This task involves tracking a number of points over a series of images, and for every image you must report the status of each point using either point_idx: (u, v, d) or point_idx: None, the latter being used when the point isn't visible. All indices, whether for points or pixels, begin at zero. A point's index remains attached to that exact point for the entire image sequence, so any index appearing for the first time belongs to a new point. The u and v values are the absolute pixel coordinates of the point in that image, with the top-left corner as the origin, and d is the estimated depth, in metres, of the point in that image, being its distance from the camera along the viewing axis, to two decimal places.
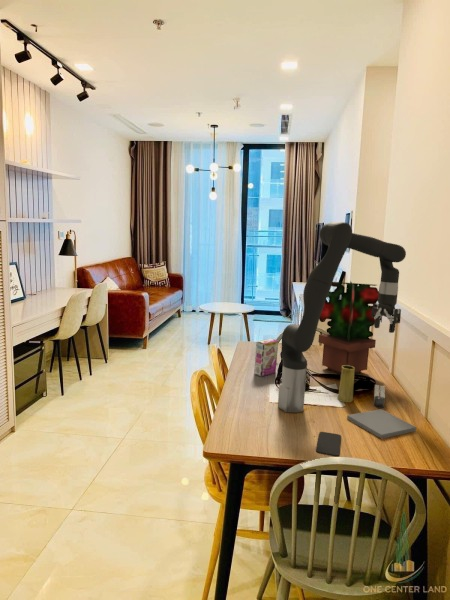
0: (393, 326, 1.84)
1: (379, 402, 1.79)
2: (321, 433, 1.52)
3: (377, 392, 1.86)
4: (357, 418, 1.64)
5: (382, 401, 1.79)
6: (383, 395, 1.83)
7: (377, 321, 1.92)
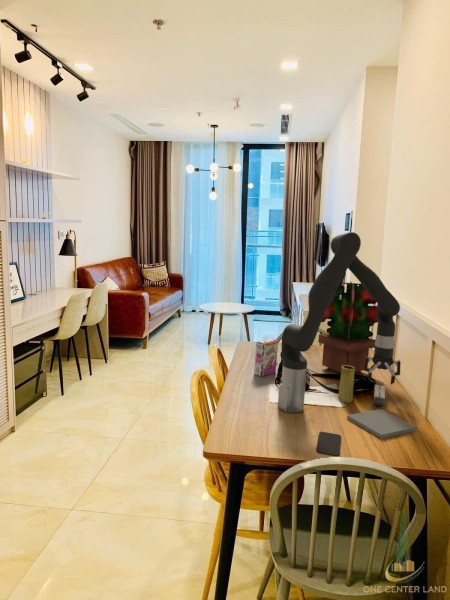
0: (368, 374, 1.88)
1: (379, 402, 1.79)
2: (321, 433, 1.52)
3: (377, 392, 1.86)
4: (357, 418, 1.64)
5: (382, 401, 1.79)
6: (383, 395, 1.83)
7: (391, 376, 1.85)
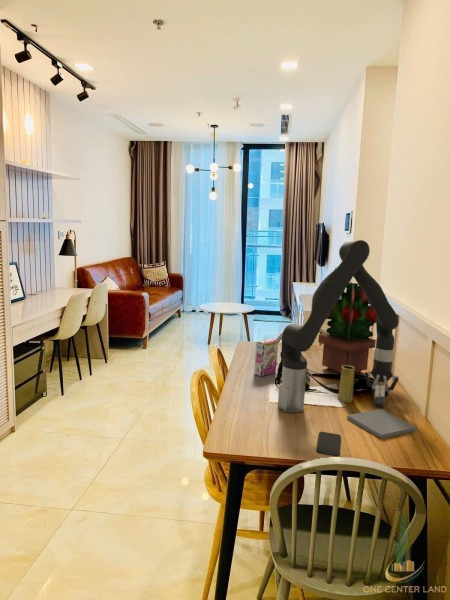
0: None
1: (379, 402, 1.79)
2: (321, 433, 1.52)
3: (377, 392, 1.86)
4: (357, 418, 1.64)
5: (382, 401, 1.79)
6: (383, 395, 1.83)
7: None
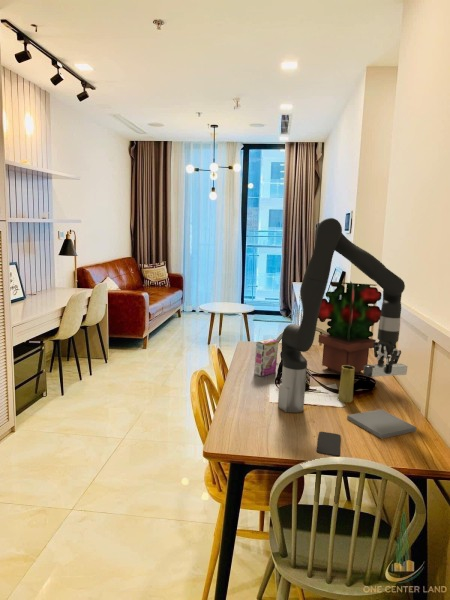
0: None
1: (364, 369, 1.68)
2: (321, 433, 1.52)
3: (381, 364, 1.71)
4: (357, 418, 1.64)
5: (367, 369, 1.67)
6: (379, 367, 1.68)
7: None
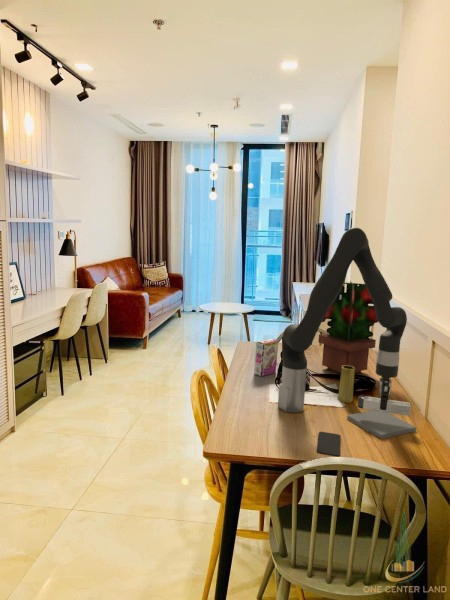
0: None
1: None
2: (320, 433, 1.52)
3: None
4: (357, 418, 1.64)
5: (359, 400, 1.63)
6: (373, 400, 1.61)
7: None
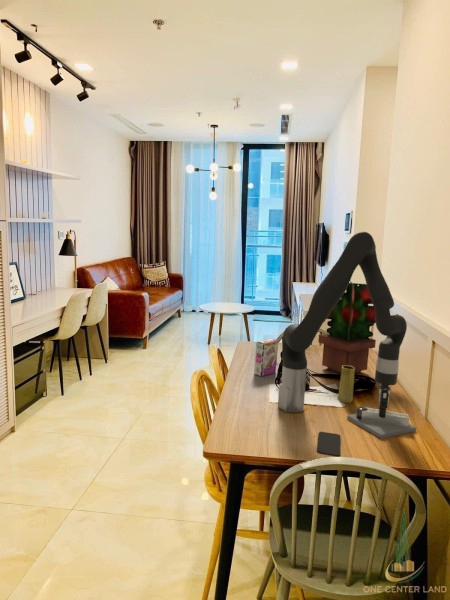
0: None
1: (356, 411, 1.65)
2: (320, 433, 1.52)
3: None
4: (357, 418, 1.64)
5: (357, 411, 1.64)
6: (371, 411, 1.62)
7: None
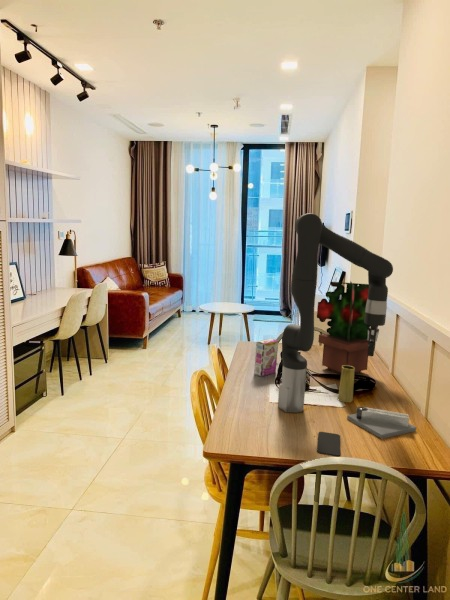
0: None
1: (356, 411, 1.65)
2: (320, 433, 1.52)
3: (379, 410, 1.63)
4: (357, 418, 1.64)
5: (357, 411, 1.64)
6: (371, 411, 1.62)
7: None
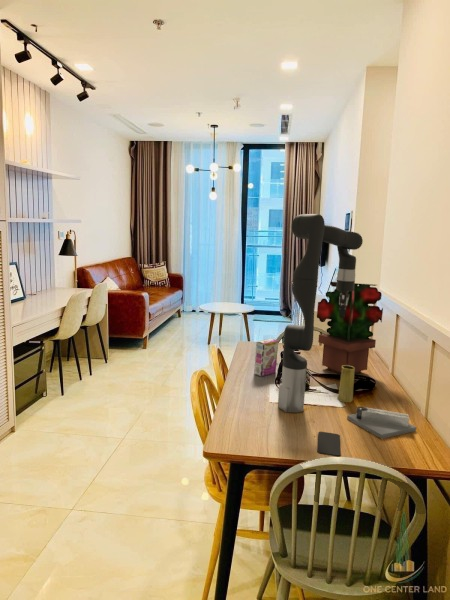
0: None
1: (356, 411, 1.65)
2: (320, 433, 1.52)
3: (379, 410, 1.63)
4: (357, 418, 1.64)
5: (357, 411, 1.64)
6: (371, 411, 1.62)
7: None
